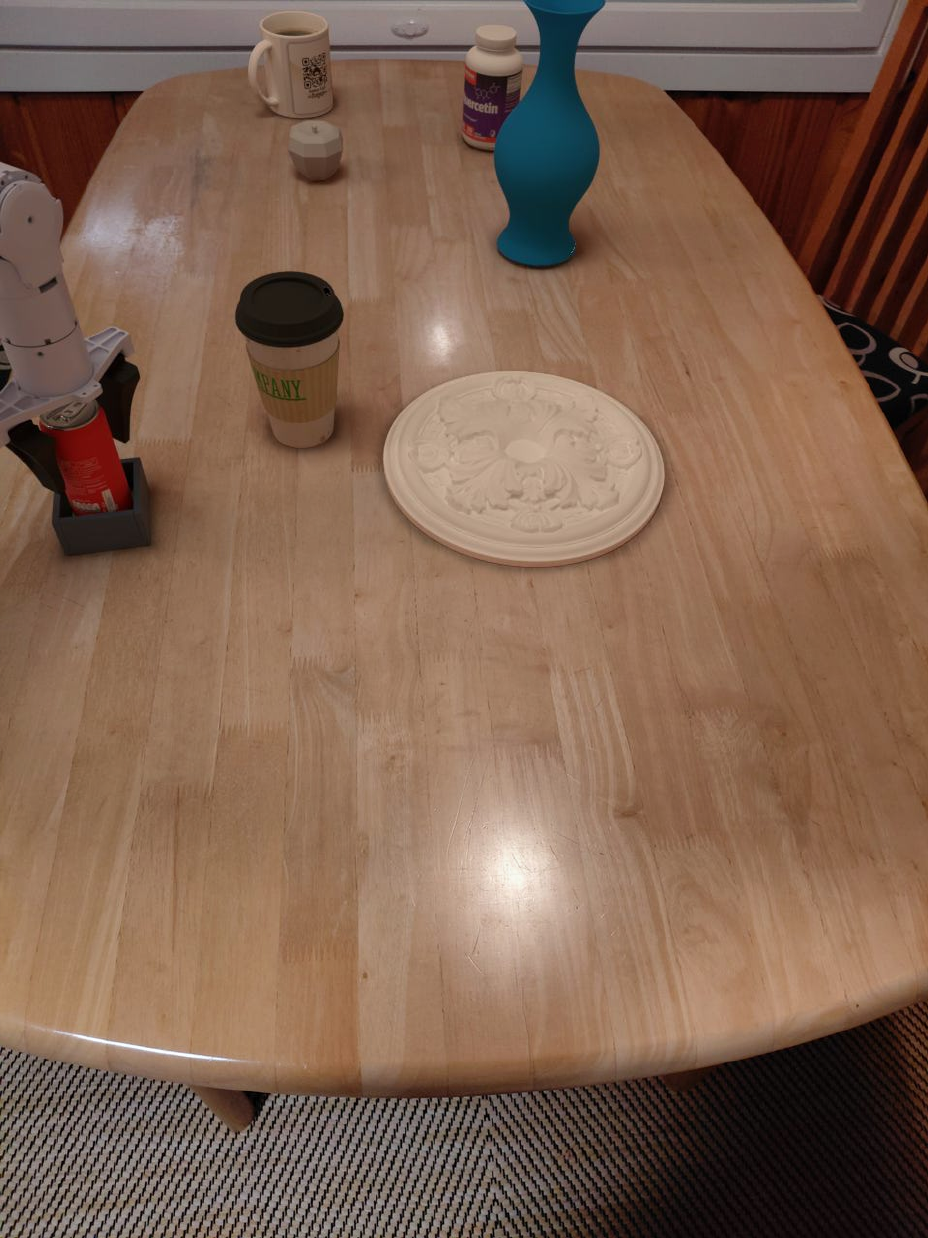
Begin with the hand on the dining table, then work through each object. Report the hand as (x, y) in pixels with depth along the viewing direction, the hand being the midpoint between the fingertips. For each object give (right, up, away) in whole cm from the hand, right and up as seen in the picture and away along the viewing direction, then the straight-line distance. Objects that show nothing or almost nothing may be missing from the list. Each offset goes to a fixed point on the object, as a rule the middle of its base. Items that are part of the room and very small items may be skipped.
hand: (87, 462), depth 80 cm
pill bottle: (+36, +57, +57) cm, 88 cm away
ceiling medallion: (+38, +2, +13) cm, 41 cm away
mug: (+7, +64, +62) cm, 89 cm away
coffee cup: (+16, +6, +15) cm, 23 cm away
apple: (+12, +48, +48) cm, 69 cm away
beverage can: (0, -4, +5) cm, 7 cm away
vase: (+42, +34, +39) cm, 66 cm away
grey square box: (0, -5, +6) cm, 7 cm away
